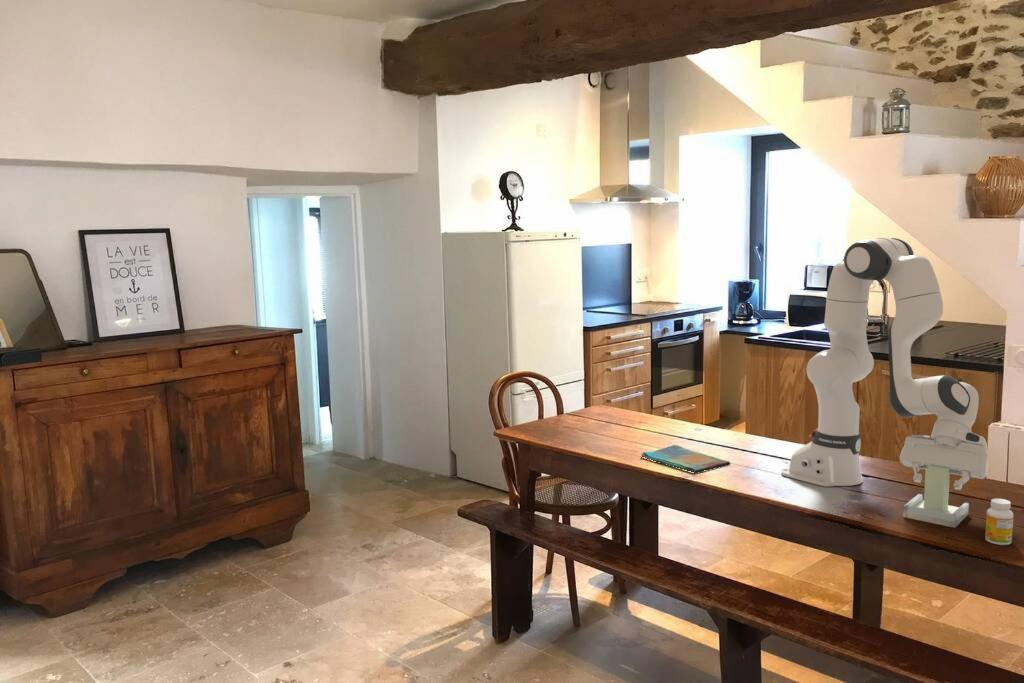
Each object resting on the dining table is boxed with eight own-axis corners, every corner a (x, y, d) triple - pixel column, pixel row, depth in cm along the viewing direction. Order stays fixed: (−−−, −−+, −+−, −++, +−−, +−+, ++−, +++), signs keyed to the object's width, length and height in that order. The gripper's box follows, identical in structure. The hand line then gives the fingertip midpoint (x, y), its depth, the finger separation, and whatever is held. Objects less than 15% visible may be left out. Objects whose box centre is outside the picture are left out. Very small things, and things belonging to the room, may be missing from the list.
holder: (903, 517, 211) (903, 505, 210) (917, 504, 219) (918, 493, 219) (954, 527, 202) (955, 515, 202) (968, 514, 211) (968, 503, 211)
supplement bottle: (982, 536, 197) (984, 496, 196) (1008, 538, 195) (1010, 498, 194) (988, 544, 192) (990, 503, 191) (1014, 546, 190) (1017, 505, 189)
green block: (923, 510, 211) (925, 468, 209) (928, 506, 214) (930, 464, 212) (942, 514, 208) (944, 471, 206) (947, 509, 211) (950, 467, 209)
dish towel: (676, 450, 279) (676, 443, 278) (731, 466, 260) (731, 458, 259) (639, 459, 269) (639, 452, 268) (693, 476, 250) (693, 468, 249)
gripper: (905, 426, 220) (891, 470, 214) (991, 438, 206) (979, 486, 201) (909, 439, 224) (895, 483, 218) (995, 452, 210) (982, 499, 205)
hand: (936, 484), depth 209 cm, fingers open, 8 cm apart
